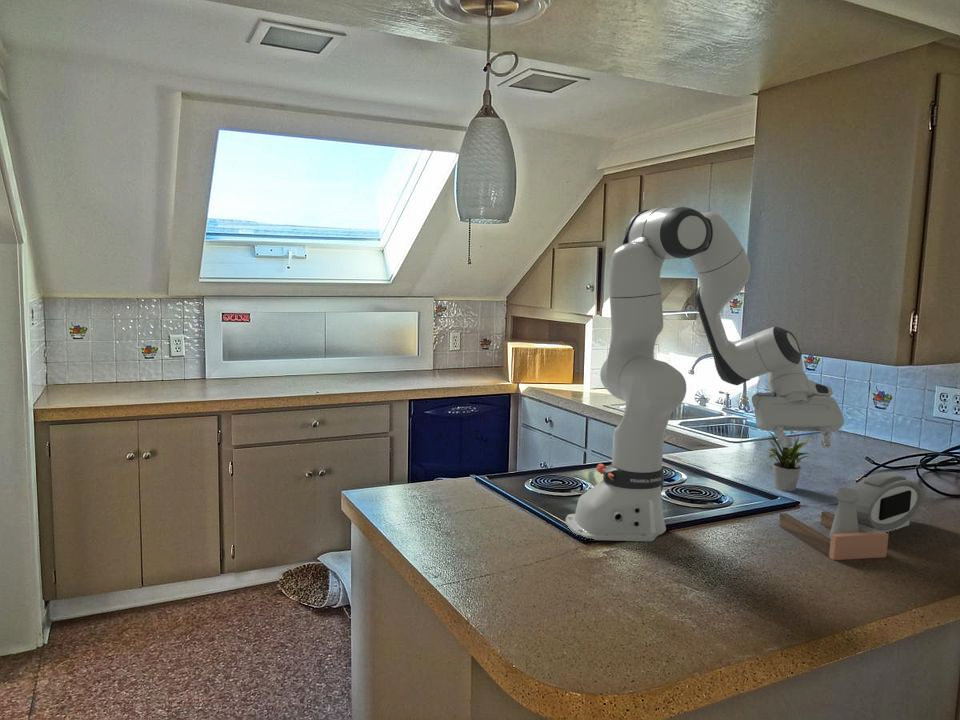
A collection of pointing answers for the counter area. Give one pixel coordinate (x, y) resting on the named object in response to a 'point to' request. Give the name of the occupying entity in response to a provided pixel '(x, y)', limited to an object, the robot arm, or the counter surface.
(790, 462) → the house plant
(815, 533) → the walnut channel
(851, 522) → the salt shaker
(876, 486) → the alarm clock
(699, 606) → the counter surface
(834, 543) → the block
